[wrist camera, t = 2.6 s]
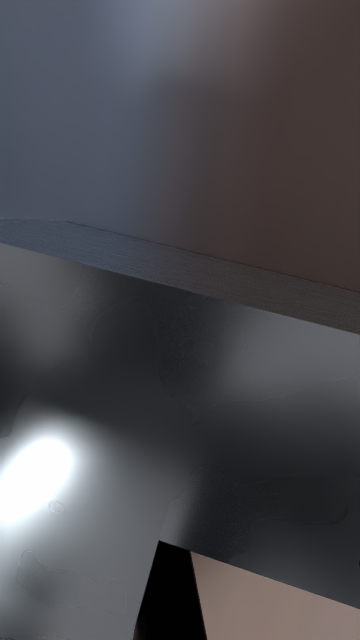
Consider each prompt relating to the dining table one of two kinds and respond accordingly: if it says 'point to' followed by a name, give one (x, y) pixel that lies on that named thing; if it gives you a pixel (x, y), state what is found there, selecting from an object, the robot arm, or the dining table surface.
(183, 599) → the robot arm
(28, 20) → the dining table surface
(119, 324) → the bracket
